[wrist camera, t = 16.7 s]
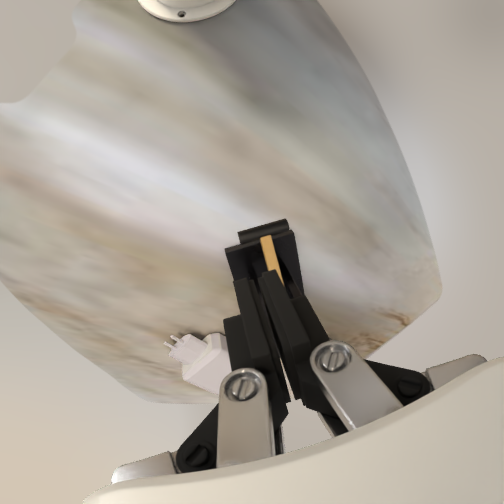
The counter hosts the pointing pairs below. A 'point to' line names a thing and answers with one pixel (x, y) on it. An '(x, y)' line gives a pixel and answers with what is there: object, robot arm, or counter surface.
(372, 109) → the counter surface
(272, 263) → the tap lever
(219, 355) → the charger
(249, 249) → the bracket
